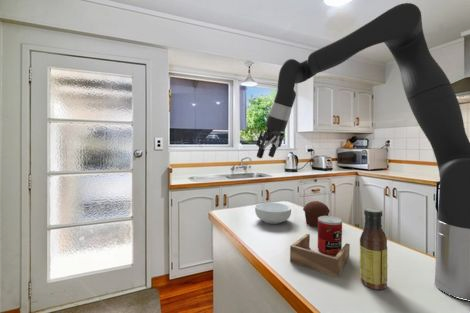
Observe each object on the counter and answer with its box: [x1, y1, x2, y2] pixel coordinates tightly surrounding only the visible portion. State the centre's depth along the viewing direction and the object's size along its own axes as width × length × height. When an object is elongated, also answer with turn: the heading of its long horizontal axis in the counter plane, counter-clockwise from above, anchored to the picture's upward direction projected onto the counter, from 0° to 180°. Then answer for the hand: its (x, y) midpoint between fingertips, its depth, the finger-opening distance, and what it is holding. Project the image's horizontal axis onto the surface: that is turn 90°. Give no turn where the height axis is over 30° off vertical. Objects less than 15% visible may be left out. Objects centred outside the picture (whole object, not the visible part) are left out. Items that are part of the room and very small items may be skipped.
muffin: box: [302, 201, 331, 228], centre depth 109 cm, size 12×11×10 cm
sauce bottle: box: [359, 207, 388, 291], centre depth 62 cm, size 6×6×20 cm
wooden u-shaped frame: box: [289, 233, 351, 278], centre depth 75 cm, size 13×14×5 cm
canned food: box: [317, 215, 343, 257], centre depth 82 cm, size 8×8×11 cm
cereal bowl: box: [254, 202, 292, 225], centre depth 113 cm, size 17×17×7 cm
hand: (265, 157), depth 94 cm, fingers open, 8 cm apart
